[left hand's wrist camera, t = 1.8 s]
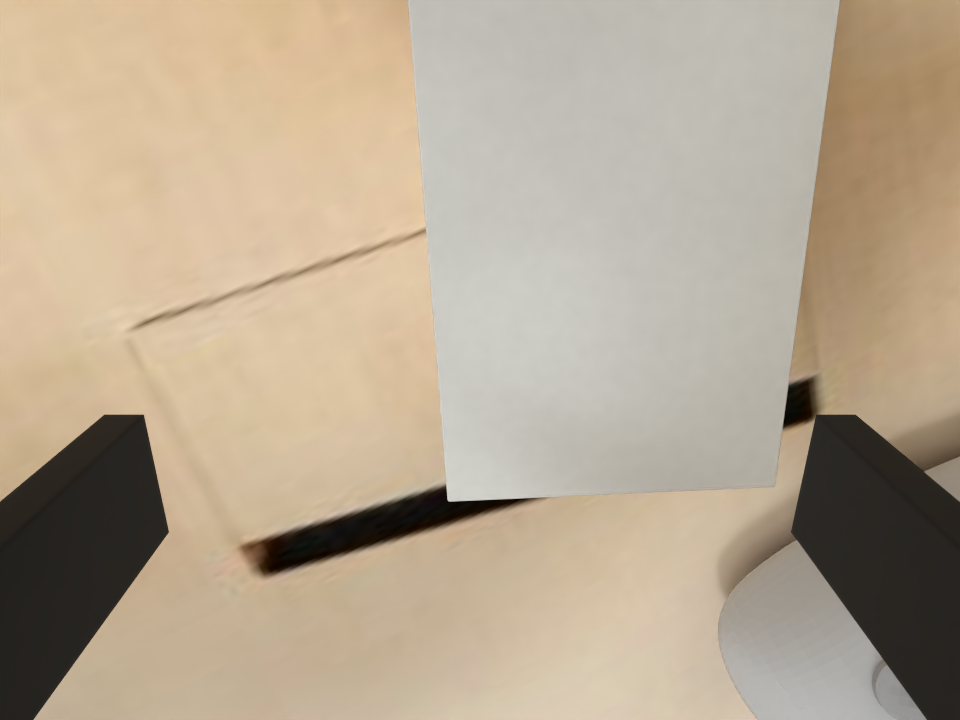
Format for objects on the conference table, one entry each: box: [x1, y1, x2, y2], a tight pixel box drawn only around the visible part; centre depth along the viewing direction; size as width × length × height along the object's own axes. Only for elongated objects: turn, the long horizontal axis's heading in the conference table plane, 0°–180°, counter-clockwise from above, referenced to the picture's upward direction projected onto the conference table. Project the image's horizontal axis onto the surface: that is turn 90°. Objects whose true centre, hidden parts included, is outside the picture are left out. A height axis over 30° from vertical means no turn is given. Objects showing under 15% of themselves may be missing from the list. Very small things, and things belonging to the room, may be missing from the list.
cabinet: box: [408, 0, 840, 501], centre depth 24 cm, size 17×11×11 cm, turn 3°
